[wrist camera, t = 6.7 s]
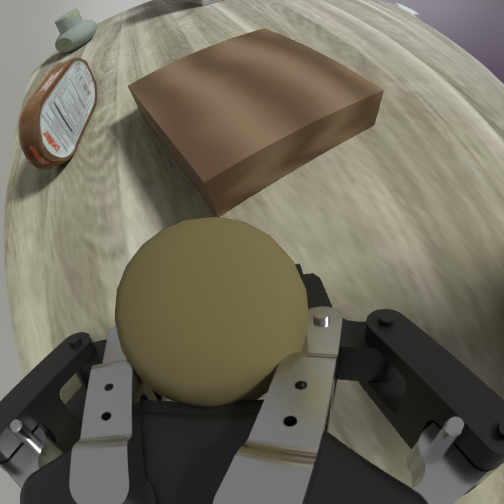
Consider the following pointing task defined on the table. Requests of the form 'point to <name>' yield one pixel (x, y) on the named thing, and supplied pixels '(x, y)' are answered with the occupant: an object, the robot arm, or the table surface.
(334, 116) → the walnut base block
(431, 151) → the table surface
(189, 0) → the brown snack box
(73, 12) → the air freshener
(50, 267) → the table surface
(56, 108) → the tin
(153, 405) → the robot arm
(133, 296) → the cork
